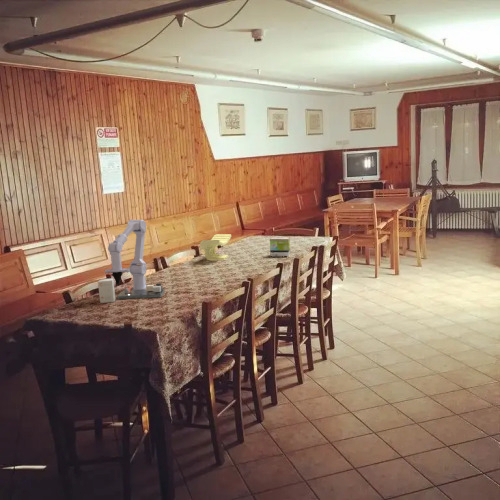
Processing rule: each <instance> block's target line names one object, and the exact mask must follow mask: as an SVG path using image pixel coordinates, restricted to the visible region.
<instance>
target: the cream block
mask: <svg viewBox="0 0 500 500" xmlns="http://www.w3.org/2000/svg"><path fill="white" fill-rule="evenodd" d="M146 285H147V286H146V288H145V289H146V290H147V291H153V287H154V286H155V284H146Z"/></svg>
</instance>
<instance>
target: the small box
mask: <svg viewBox="0 0 500 500" xmlns="http://www.w3.org/2000/svg"><path fill="white" fill-rule="evenodd" d="M97 285H98V286H97V287H98V293H99V294H98V296H99V302H100V304H103V303H104V304H106V303H115V301H116V300H117V298H116V291H115V279H114V277H113V278H100V279H99V280H98V281H97Z"/></svg>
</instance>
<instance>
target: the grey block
mask: <svg viewBox="0 0 500 500" xmlns="http://www.w3.org/2000/svg"><path fill="white" fill-rule="evenodd" d="M161 286H162V285H161ZM161 286H156V285H154V287H153V291H154V292H161Z"/></svg>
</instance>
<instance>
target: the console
mask: <svg viewBox="0 0 500 500" xmlns="http://www.w3.org/2000/svg"><path fill="white" fill-rule="evenodd" d="M165 292H166V291H165V288H164V286H162V285H161V292H154V291H147V289H144V290H132V289H131V292H130V293H129V294H128V295H125V291H124V290H122V291H121V292H119V294H117V295H116V297H117V298H116V300H128V299H129V300H130V299H133V300H134V299H160V298H162V297H163V295H164V293H165Z"/></svg>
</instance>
